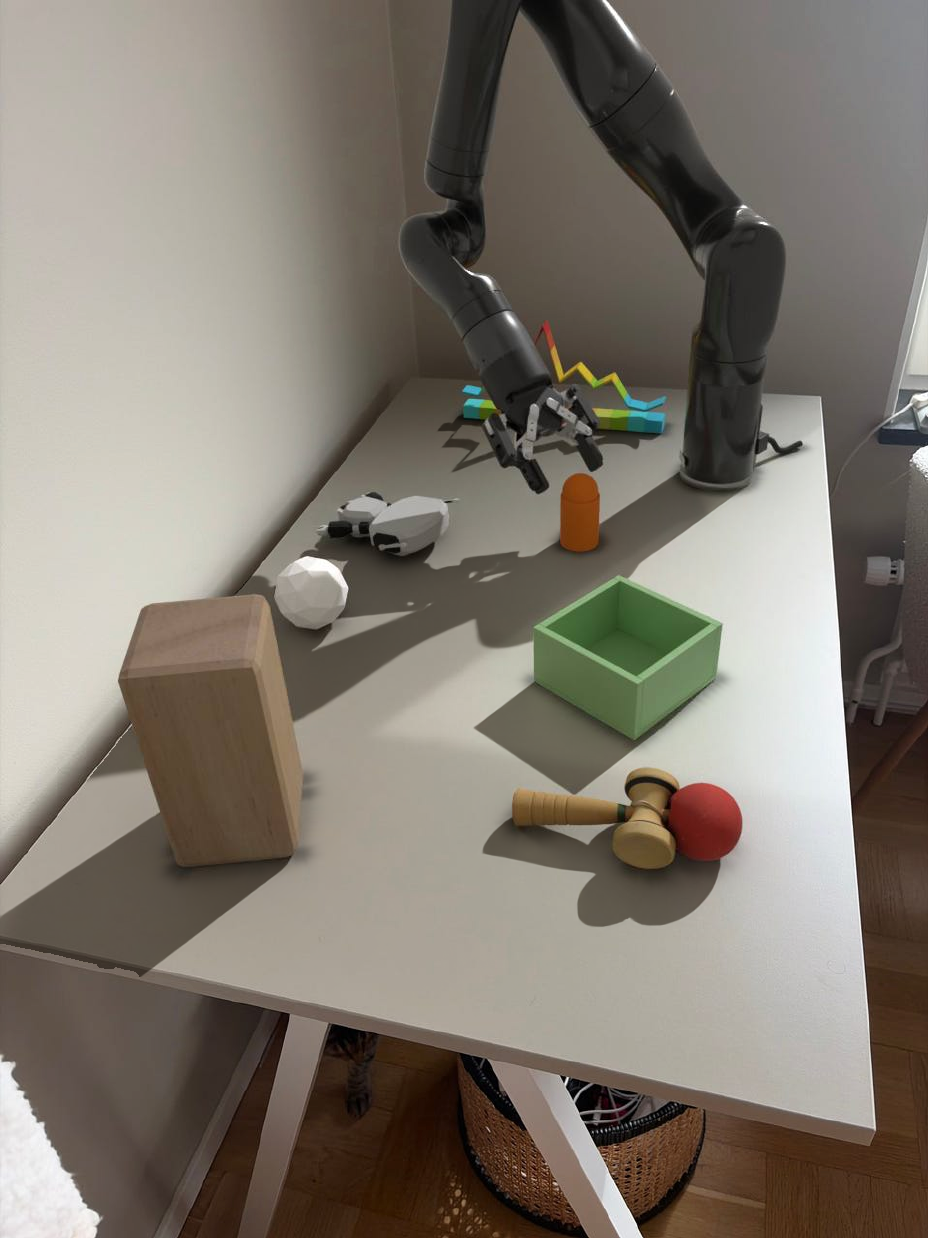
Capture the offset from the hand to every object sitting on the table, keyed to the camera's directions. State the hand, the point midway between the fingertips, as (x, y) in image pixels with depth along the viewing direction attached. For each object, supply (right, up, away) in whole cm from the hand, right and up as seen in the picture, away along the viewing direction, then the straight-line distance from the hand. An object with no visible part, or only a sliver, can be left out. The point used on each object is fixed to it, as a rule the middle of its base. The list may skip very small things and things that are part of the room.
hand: (571, 479), depth 115 cm
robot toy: (-22, -7, +7) cm, 24 cm away
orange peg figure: (+1, -7, +4) cm, 8 cm away
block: (-31, -34, -32) cm, 56 cm away
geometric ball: (-29, -17, -7) cm, 34 cm away
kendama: (0, -34, -35) cm, 49 cm away
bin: (+3, -22, -19) cm, 29 cm away
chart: (+2, +13, +33) cm, 36 cm away
